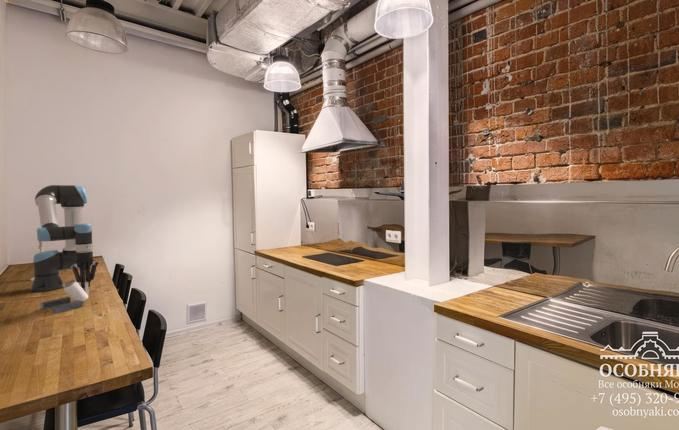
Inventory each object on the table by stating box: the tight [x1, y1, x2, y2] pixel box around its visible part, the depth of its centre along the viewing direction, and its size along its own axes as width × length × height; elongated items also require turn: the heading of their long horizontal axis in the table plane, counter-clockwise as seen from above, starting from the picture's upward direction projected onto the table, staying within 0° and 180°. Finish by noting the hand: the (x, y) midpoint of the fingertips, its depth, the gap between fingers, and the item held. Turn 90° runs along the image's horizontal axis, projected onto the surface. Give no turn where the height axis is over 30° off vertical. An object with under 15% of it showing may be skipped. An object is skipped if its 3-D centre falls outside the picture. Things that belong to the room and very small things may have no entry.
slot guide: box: [39, 296, 84, 315], centre depth 174 cm, size 15×12×3 cm
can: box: [62, 279, 89, 303], centre depth 180 cm, size 6×6×12 cm
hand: (85, 293), depth 184 cm, fingers closed
